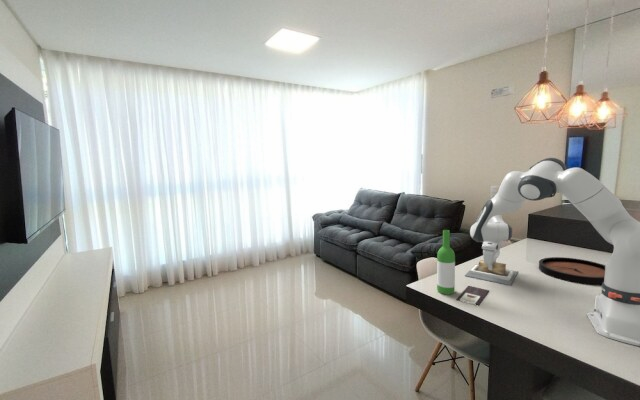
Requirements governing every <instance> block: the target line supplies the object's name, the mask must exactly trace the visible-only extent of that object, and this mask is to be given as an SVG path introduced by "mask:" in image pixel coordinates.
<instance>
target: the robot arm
mask: <svg viewBox="0 0 640 400" xmlns="http://www.w3.org/2000/svg"><path fill="white" fill-rule="evenodd" d="M556 194H560V195H562V196H564V197H565V198H566V199H567V201H569V202H570V203H571V205H573V207H575V208H576V210H577V211H579V212H580V213H581V215H583V216H584V217H585V218H586V219H587V221H589V223H590V224H591V225H592V227H593V228H594V229H595V230H596V232H597V233H598V234H599V235H600V236H601V237H602V238H603V239H604V240H605V241H606V242H607V243H609V244H610V245H613V250H612V251H613V252H612V254H611V256H610V258H609V259H608V260H607V261H606V262H605V264H604V265H605V276H604V282H603V283H602V285H601V293H600V294H597V295H596V296H595V301H594V309H593V310H594V311H592V312H591V311H589V312H587V317H588V319H589V321H590V323H591V324H592V326H593V328H594V330H595V331H596V333H597V334H599V335H600V336H603V337H605V338H608V339H612V340H615V341H618V342H621V343H625V344H629V345H633V346H637V347H638V346H639V347H640V221H639V220H638V219H636V218H634V217H633V216H632V215H630V213H629V212H628V211H627V209H625V208H626V207H624V205H623V203H622V201H621V200H620V199H619V197H617V196H616V195H615V194H614V193H613V192H612V191H611V190H610V189H608V187H607V186H605V185H604V184H603V182H601V181H600V180H599V179H598V178H596V177H595V176H594V175H593V174H591V173H590V172H588V171H586V170H585V169H583V168H581V167H570V168H567V166H566V164H565V163H564V161H562V160H561V159H559V158H556V157H548V158H544V159H542V160H539V161H538V162H536V163H535V164H533V165H532V166H530V167H529V170H528V171H525V172H524V171H521V170H512V171H510V172H508V173H506V175H505V176H504V177H503V179H502V182H501V184H500V186H499V187H498V190H497V192H496V194H495V195H494V196H493V197H492V198H490V199H489V200H487V201H486V202H485V203H484V205H483V206H482V208H481V210H480V212H479V214H478V215H477V217H476V220H475V221H474V222H473V223H472V225H471V226H470V229H469V234H470V235H469V236H470V238H471V239H472V240H474V241H475V242H476V243H482V244H481V245H482V246H481V249H482V257H483V259H482V260H483V261H484V264H488V269H489V270H492V269H493V266H492V264H493V262H497V258H499V256H500V252H501V251H500V250H501V248H502V247H503V242H508V241H510V240H511V239H512V237H513V227H512V226H511V225H510V224H509V223H507V222H506V221H504V220H503V214H508V213H512V212H513V213H514V212H517V211H518V210H519V209H521V208H522V207H523V206H524V204H525V202H526V201H541V200H544V199H548V198H554V197H555V196H556Z"/></svg>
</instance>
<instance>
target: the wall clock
mask: <svg viewBox="0 0 640 400" xmlns="http://www.w3.org/2000/svg"><path fill="white" fill-rule="evenodd" d="M538 270H539V271H540V272H541V273H543V274H544V275H546V276H548V277H551V278H554V279H557V280H561V281H564V282H568V283H569V282H570V283H574V284H580V285H586V286H587V285H588V286H589V285H590V286H602V283H603V282H604V276H605V264H604V263H603V264H602V263H599V262H595V261H591V260H586V259H580V258H573V257H561V256H556V257H555V256H554V257H553V256H552V257H544V258H542V259H540V260H539V261H538Z"/></svg>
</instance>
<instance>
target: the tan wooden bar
mask: <svg viewBox="0 0 640 400" xmlns="http://www.w3.org/2000/svg"><path fill="white" fill-rule="evenodd" d="M478 264H479V270H481V271H486V272H492V273H497V274H503V275H504V274H505V272H506V269H507V268H506V267H507V264H506V263H502V262H497V261H496V262H493V264H492V266H493V269H492V270H489V269H488V264H484V261H483V259H480V260H479V261H478Z"/></svg>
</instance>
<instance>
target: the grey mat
mask: <svg viewBox="0 0 640 400" xmlns="http://www.w3.org/2000/svg"><path fill="white" fill-rule="evenodd" d="M518 273H519V271H518V270H512V269H507V268H506V272H505V274H504V275H503V274H497V273H492V272H486V271H481V270H479V263H476V264H475V265H473V266H472V267H471V268H470V270H468V272H466V273H465V274H464V277H468V278H471V279H477V280H481V281H487V282H491V283H496V284H499V285H501V284H502V285H506V286H511V285H512V283H513V282H514V280H515V278H516V276H517V275H518Z"/></svg>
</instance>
